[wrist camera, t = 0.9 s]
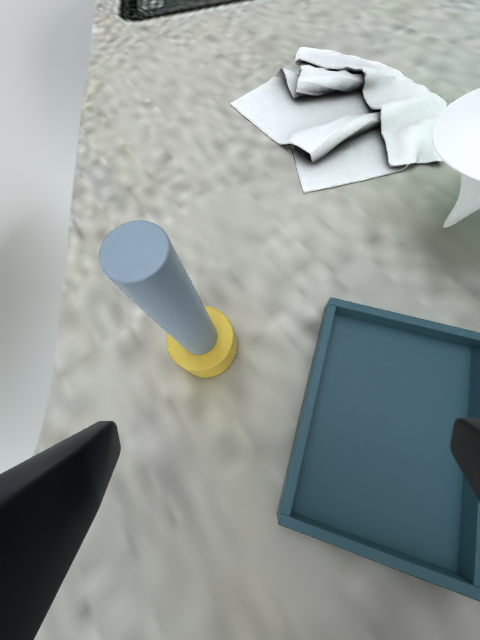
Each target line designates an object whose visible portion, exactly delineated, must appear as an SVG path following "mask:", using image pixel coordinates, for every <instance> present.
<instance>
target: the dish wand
mask: <svg viewBox="0 0 480 640" xmlns="http://www.w3.org/2000/svg"><path fill="white" fill-rule="evenodd" d="M99 262H100V266H101V269H102V271H103V272H104V274H105V275H106V276H107V277H108V278H109V279H110V280H111V281H112V282H113V283H115V284H116V285H117V286H118V287H119V288H120V289H121V290H122V291H123V292H124V293H125V294H126V295H127V296H128V297H130V298H131V299H132V300H133V301H134V302H135V303H136V304H137V305H138V306H139V307H140V308H141V309H142V310H143V311H145V312H146V313H147V314H148V315H149V316H150V317H151V318H152V319H153V320H154V321H155V322H156V323H157V324H159V325H160V326H161V327H162V328H163V329H164V330H165V331H166V332H167V348H168V352H169V354H170V356H171V358H172V359H173V360H174V361H175V362H176V363H177V364H178V365H179V366H181V367H182V368H184V369H185V370H186V371H188V372H189V373H191V374H193V375H195V376H198V377H206V378H207V377H213V376H216V375H219V374H221V373H223V372H224V371H225V370H226V369H228V368H229V366H230V365H231V364H232V362H233V361H234V359H235V356H236V352H237V341H236V337H235V334H234V331H233V329H232V326H231V323H230V322H229V320H228V318H227V317H226V316H225V315H224V314H223V313H222V312H220V311H219V310H217V309H215V308H212V307H207V306H204V305H203V303H202V301H201V299H200V297H199V295H198V293H197V292H196V290H195V288H194V286H193V284H192V282H191V280H190V278H189V276H188V274H187V272H186V270H185V269H184V267H183V265H182V263H181V261H180V259H179V257H178V255H177V253H176V251H175V249H174V247H173V246H172V244H171V242H170V240H169V238H168V236H167V234H166V233H165V231H164V230H163V229H162V228H161V227H159V226H158V225H156V224H154V223H151V222H148V221H132V222H128V223H125V224H123V225H121V226H119V227H117V228H116V229H114V230H113V231H112V232H111V233H110V234H109V235H108V236H107V237H106V238H105V240H104V241H103V243H102V245H101V248H100V252H99Z"/></svg>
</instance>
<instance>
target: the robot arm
mask: <svg viewBox="0 0 480 640" xmlns="http://www.w3.org/2000/svg"><path fill="white" fill-rule="evenodd" d="M450 449H451V452H452V455H453V457H454V459H455V460H456V462H457V464H458V466H459V467H460V469H461V471H462V473H463V475H464V476H465V478H466V480H467V482H468V483H469V485H470V487H471V489H472V490H473V492H474V494H475V496H476V497H477V499H478V501H479V503H480V419H477V418H473V417H465V418H457V419H456V420H455V421H454V425H453V430H452V436H451V442H450ZM120 450H121V446H120V440H119V435H118V430H117V426H116V423H115V422H113V421H99V422H97V423H95V424H93V425H91V426H89V427H88V428H86V429H84V430H82V431H80V432H78V433H76V434H74V435H73V436H71V437H69V438H67V439H65V440H63V441H61V442H59V443H58V444H56V445H54V446H52V447H50V448H48V449H46V450H45V451H43V452H41V453H39V454H37V455H35V456H33V457H31V458H30V459H28V460H26V461H24V462H23V463H20V464H19V465H17V466H15V467H13V468H11V469H9V470H7V471H5V472H3V473H2V474H0V640H34V638H35V636H36V634H37V632H38V630H39V628H40V626H41V624H42V622H43V620H44V618H45V616H46V614H47V612H48V610H49V608H50V606H51V604H52V602H53V600H54V598H55V596H56V594H57V592H58V590H59V588H60V586H61V584H62V582H63V580H64V578H65V576H66V574H67V572H68V570H69V568H70V566H71V564H72V562H73V560H74V558H75V556H76V554H77V552H78V550H79V548H80V546H81V544H82V542H83V540H84V538H85V536H86V534H87V532H88V530H89V528H90V526H91V524H92V522H93V520H94V518H95V516H96V513H97V511H98V509H99V507H100V504H101V502H102V499H103V497H104V494H105V492H106V489H107V486H108V484H109V481H110V479H111V476H112V473H113V471H114V468H115V466H116V463H117V460H118V458H119V455H120Z"/></svg>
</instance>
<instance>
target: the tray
mask: <svg viewBox="0 0 480 640" xmlns="http://www.w3.org/2000/svg"><path fill="white" fill-rule="evenodd" d="M465 417H473V418H477V419H480V333H479V332H474V331H470V330H466V329H462V328H457V327H453V326H449V325H445V324H441V323H436V322H432V321H428V320H424V319H420V318H415V317H411V316H407V315H403V314H399V313H394V312H390V311H386V310H382V309H377V308H373V307H369V306H365V305H361V304H356V303H352V302H348V301H344V300H340V299H335V298H330V299H329V301H328V303H327V305H326V307H325V310H324V314H323V318H322V323H321V327H320V331H319V336H318V340H317V344H316V348H315V353H314V357H313V361H312V365H311V370H310V374H309V378H308V383H307V387H306V391H305V395H304V400H303V404H302V408H301V413H300V417H299V421H298V425H297V430H296V434H295V438H294V443H293V447H292V451H291V455H290V460H289V464H288V468H287V473H286V477H285V481H284V485H283V490H282V494H281V498H280V502H279V507H278V511H277V517H278V524H279V525H282V526H285V527H287V528H290V529H292V530H295V531H298V532H300V533H303V534H305V535H308V536H311V537H313V538H316V539H318V540H321V541H324V542H326V543H329V544H331V545H334V546H337V547H339V548H342V549H345V550H347V551H350V552H352V553H355V554H358V555H360V556H363V557H365V558H368V559H371V560H373V561H376V562H378V563H381V564H384V565H386V566H389V567H391V568H394V569H397V570H399V571H402V572H404V573H407V574H410V575H412V576H415V577H417V578H420V579H423V580H425V581H428V582H431V583H433V584H436V585H438V586H441V587H444V588H446V589H449V590H451V591H454V592H457V593H459V594H462V595H464V596H467V597H470V598H472V599H475V600H477V601H480V503H479V501H478V499H477V497H476V496H475V494H474V492H473V490H472V489H471V487H470V485H469V483H468V482H467V480H466V478H465V476H464V475H463V473H462V471H461V469H460V467H459V466H458V464H457V462H456V460H455V459H454V457H453V455H452V452H451V449H450V442H451V436H452V430H453V425H454V421H455V420H456V419H457V418H465Z"/></svg>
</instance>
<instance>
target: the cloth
mask: <svg viewBox="0 0 480 640" xmlns="http://www.w3.org/2000/svg"><path fill="white" fill-rule="evenodd" d="M299 59H300V60H301V65H300V70H299V73H300V75H298V74H296V73H294V72H292V71H290V70H288V69H285V68H282V69H280V70H279V71H278V73H277V74H276V75H275V76H274V77H273V78H272V79H271V80H269V81H268V82H266V83H264V84H263V85H261V86H259V87H258V88H256V89H254V90H252V91H251V92H249V93H247V94H245V95H244V96H242V97H240V98H239V99H237V100H236V101H234V102H232V103H230V105H231V106H233V107H234V108H235V109H236V110H237V111H238V112H239V113H241V114H242V115H243V116H244V117H245V118H247V119H248V120H249V121H250V122H251V123H253V124H254V125H255V126H256V127H257V128H258V129H260V130H261V131H262V132H264V133H265V134H266V135H267V136H268V137H269V138H271V139H272V140H273V141H275V142H276V143H278V144H279V145H283V144H293V146H292V151H293V155H294V158H295V162H296V168H297V172H298V176H299V179H300V183H301V186H302V189H303V193H306V192H311V191H316V190H321V189H326V188H331V187H336V186H341V185H345V184H350V183H355V182H360V181H364V180H368V179H371V178H375V177H379V176H384V175H388V174H392V173H396V172H400V171H402V170H404V169H405V168H407V167H408V165H409V164H412V163H429V162H437V163H442V162H444V161H443V160H442V159H441V157H440V156H439V155H438V153H437V152H436V150H435V148H434V146H433V142H432V129H433V125H434V123H435V121H436V119H437V117H438V116H439V115H440V113H441V112H442V111H443V110H444V109H445V108H446V107H447V101H446V100H444V99H443V98H442V97H440V96H439V95H437V94H435V93H431V92H430V91H429V90H428V89H427V88H426V87H425V86H423V85H419V84H415V83H414V82H413V81H412V80H411V79H409V78H406V77H405V76H404V75H403V74H402V73H401V72H400V71H398V70H396V69H393V68H391V67H389V66H386V65H384V64H382V63H380V62H376V61H369V60H365V59H362V58H360V57H357V56H353V55H343V54H341V53H339V52H336V51H333V50H321V49H314V48H305V47H300V49H299V50H298V52H297V55H296V58H295V62H296V61H298V60H299Z"/></svg>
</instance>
